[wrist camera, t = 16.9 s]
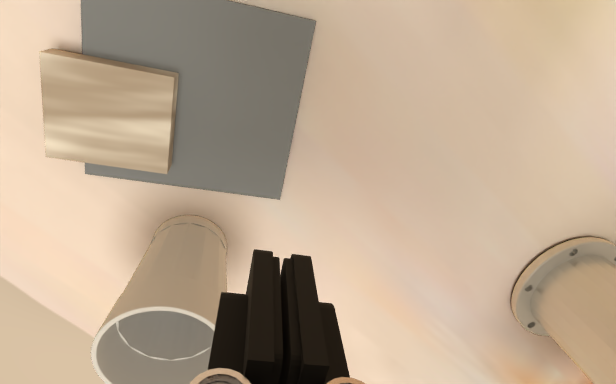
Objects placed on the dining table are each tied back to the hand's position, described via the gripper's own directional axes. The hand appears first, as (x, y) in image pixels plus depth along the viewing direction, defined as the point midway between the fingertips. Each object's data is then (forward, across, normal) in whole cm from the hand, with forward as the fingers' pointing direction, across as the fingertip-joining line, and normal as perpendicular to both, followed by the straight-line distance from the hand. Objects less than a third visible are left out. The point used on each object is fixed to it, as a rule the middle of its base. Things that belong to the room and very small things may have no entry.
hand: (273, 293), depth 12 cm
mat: (+20, +6, -1) cm, 21 cm away
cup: (+21, +5, +12) cm, 25 cm away
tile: (+19, +11, -2) cm, 22 cm away
